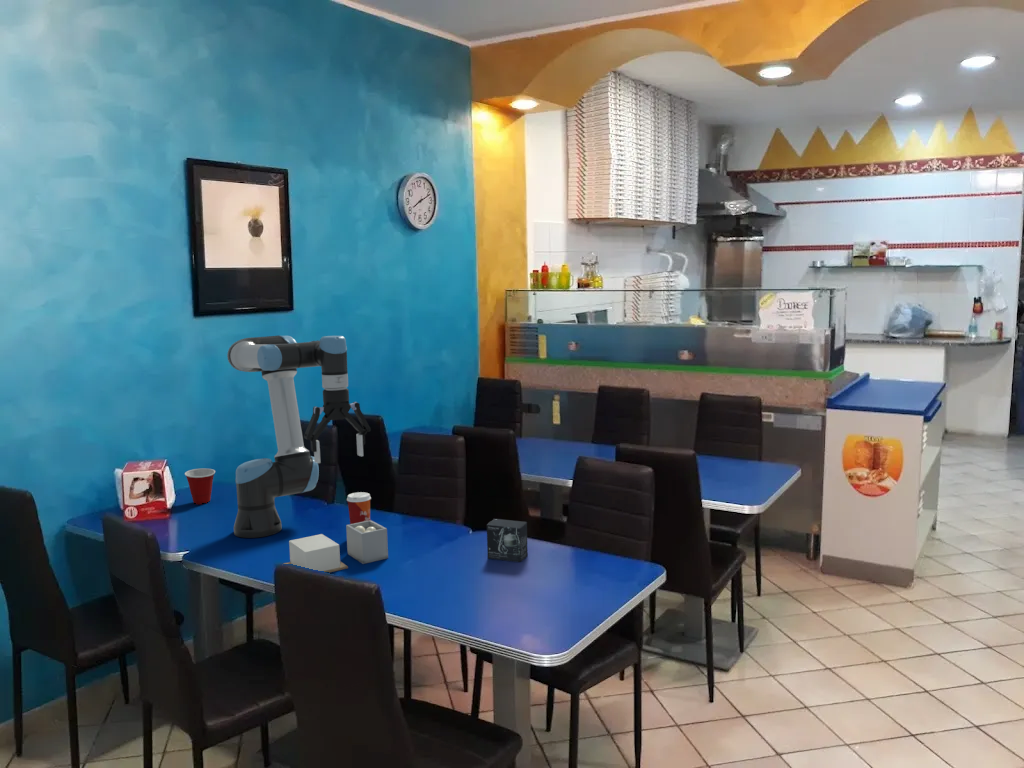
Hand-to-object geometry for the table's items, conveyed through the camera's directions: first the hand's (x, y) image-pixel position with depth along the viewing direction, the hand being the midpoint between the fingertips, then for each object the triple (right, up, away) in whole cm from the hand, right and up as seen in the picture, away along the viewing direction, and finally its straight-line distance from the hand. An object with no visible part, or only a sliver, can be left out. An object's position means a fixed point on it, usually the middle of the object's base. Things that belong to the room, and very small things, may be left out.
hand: (339, 459), depth 247 cm
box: (+50, -29, -5) cm, 58 cm away
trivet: (-5, -30, -9) cm, 32 cm away
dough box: (+9, -29, -1) cm, 30 cm away
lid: (-5, -30, -9) cm, 31 cm away
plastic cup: (-65, -22, +65) cm, 95 cm away
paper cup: (+3, -27, +18) cm, 32 cm away
